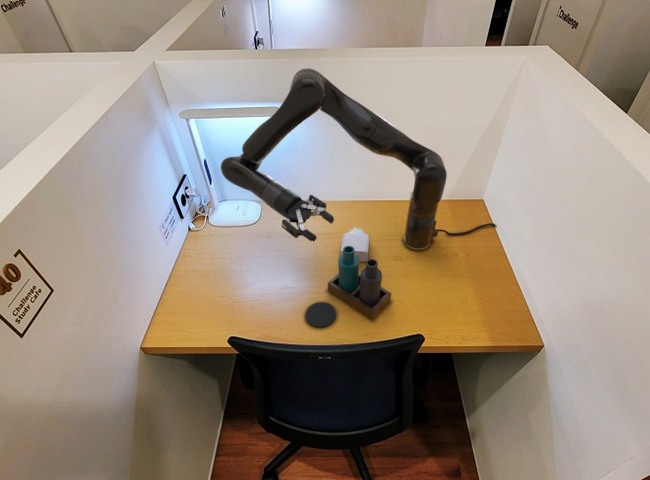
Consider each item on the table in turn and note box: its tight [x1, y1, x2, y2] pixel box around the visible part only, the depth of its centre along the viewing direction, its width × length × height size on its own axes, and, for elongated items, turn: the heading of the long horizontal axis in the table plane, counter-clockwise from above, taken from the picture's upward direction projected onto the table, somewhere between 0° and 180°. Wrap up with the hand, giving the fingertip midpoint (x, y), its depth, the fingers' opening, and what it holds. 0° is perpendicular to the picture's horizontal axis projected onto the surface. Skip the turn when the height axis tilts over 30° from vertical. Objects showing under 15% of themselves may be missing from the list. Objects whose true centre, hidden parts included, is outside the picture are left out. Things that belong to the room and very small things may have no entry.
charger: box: [340, 226, 370, 263], centre depth 128 cm, size 5×9×15 cm
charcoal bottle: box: [358, 258, 383, 308], centre depth 106 cm, size 6×6×18 cm
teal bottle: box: [337, 246, 360, 294], centre depth 110 cm, size 6×6×18 cm
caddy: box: [327, 272, 392, 321], centre depth 113 cm, size 9×17×4 cm, turn 49°
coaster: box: [305, 301, 337, 329], centre depth 109 cm, size 9×9×1 cm
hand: (324, 230), depth 105 cm, fingers open, 8 cm apart
